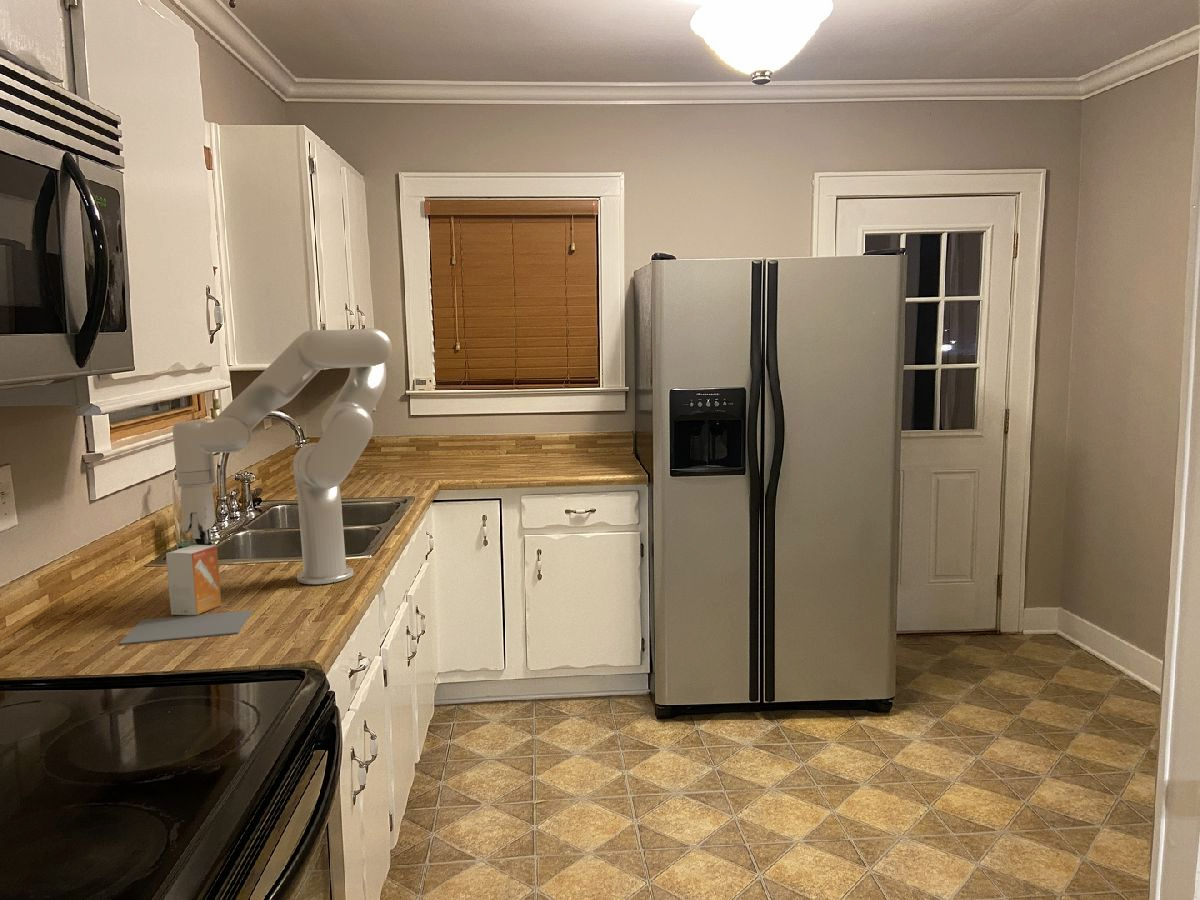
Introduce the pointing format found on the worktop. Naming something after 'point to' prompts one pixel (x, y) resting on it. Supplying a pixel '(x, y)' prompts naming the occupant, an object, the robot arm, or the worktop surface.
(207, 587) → the small box
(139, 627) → the mat
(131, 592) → the worktop surface
